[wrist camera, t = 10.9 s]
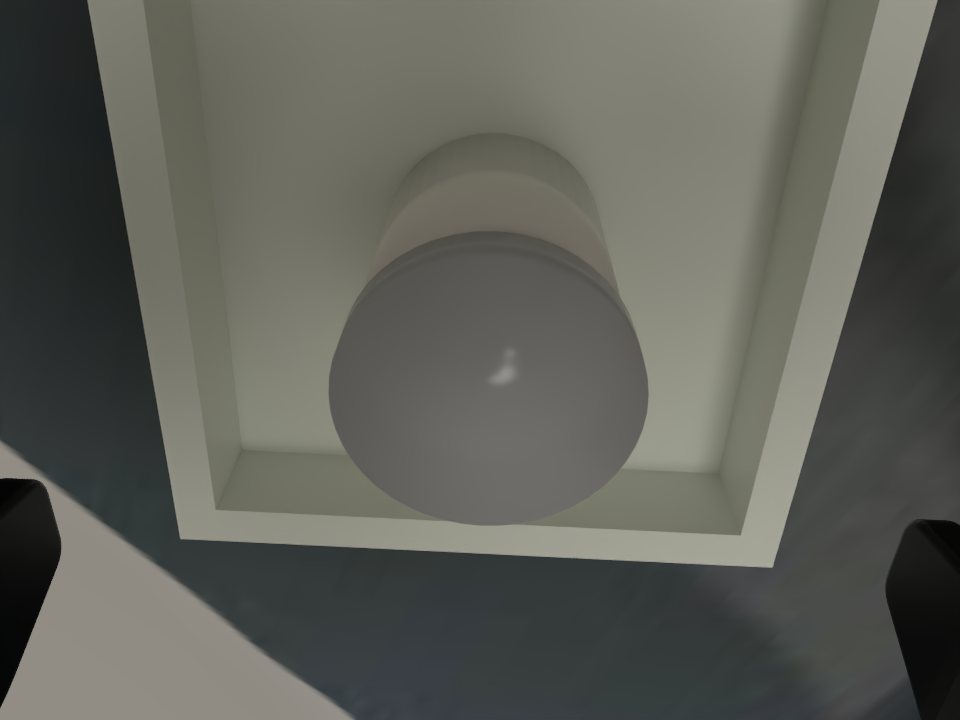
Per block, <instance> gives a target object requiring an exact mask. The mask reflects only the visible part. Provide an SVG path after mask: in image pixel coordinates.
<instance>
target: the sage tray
mask: <svg viewBox="0 0 960 720" xmlns="http://www.w3.org/2000/svg"><path fill="white" fill-rule="evenodd" d="M87 1H88V7H89V12H90V18H91V24H92V30H93V36H94V41H95V47H96V53H97V59H98V65H99V70H100V76H101V82H102V88H103V94H104V99H105V105H106V111H107V117H108V123H109V128H110V134H111V140H112V146H113V152H114V157H115V163H116V169H117V175H118V180H119V186H120V192H121V198H122V204H123V209H124V215H125V221H126V227H127V233H128V238H129V244H130V250H131V256H132V262H133V267H134V273H135V279H136V285H137V291H138V296H139V302H140V308H141V314H142V320H143V325H144V331H145V337H146V343H147V349H148V354H149V360H150V366H151V372H152V377H153V383H154V389H155V395H156V401H157V406H158V412H159V418H160V424H161V430H162V435H163V441H164V447H165V453H166V459H167V464H168V470H169V476H170V482H171V488H172V493H173V499H174V505H175V511H176V517H177V522H178V528H179V534H180V539H194V540H214V541H235V542H255V543H276V544H297V545H317V546H338V547H358V548H379V549H400V550H420V551H441V552H461V553H482V554H503V555H523V556H544V557H564V558H585V559H606V560H626V561H647V562H667V563H688V564H709V565H729V566H750V567H770V568H772V567H773V564H774V560H775V557H776V553H777V550H778V546H779V543H780V540H781V536H782V533H783V529H784V526H785V522H786V519H787V516H788V512H789V509H790V505H791V502H792V498H793V495H794V492H795V488H796V485H797V481H798V478H799V474H800V471H801V468H802V464H803V461H804V457H805V454H806V450H807V447H808V443H809V440H810V437H811V433H812V430H813V426H814V423H815V419H816V416H817V413H818V409H819V406H820V402H821V399H822V395H823V392H824V389H825V385H826V382H827V378H828V375H829V371H830V368H831V364H832V361H833V358H834V354H835V351H836V347H837V344H838V340H839V337H840V334H841V330H842V327H843V323H844V320H845V316H846V313H847V310H848V306H849V303H850V299H851V296H852V292H853V289H854V286H855V282H856V279H857V275H858V272H859V268H860V265H861V261H862V258H863V255H864V251H865V248H866V244H867V241H868V237H869V234H870V231H871V227H872V224H873V220H874V217H875V213H876V210H877V207H878V203H879V200H880V196H881V193H882V189H883V186H884V182H885V179H886V176H887V172H888V169H889V165H890V162H891V158H892V155H893V152H894V148H895V145H896V141H897V138H898V134H899V131H900V128H901V124H902V121H903V117H904V114H905V110H906V107H907V104H908V100H909V97H910V93H911V90H912V86H913V83H914V79H915V76H916V73H917V69H918V66H919V62H920V59H921V55H922V52H923V49H924V45H925V42H926V38H927V35H928V31H929V28H930V25H931V21H932V18H933V14H934V11H935V7H936V4H937V0H87ZM479 134H508V135H515V136H519V137H523V138H527V139H530V140H533V141H535V142H538V143H540V144H543V145H544V146H546V147H548V148H550V149H551V150H553V151H555V152H556V153H558V154H559V155H560V156H562V157H563V158H564V159H566V160H567V161H568V162H569V163H570V164H571V165H572V166H573V167H574V168H575V169H576V170H577V171H578V173H579V174H580V175H581V177H582V178H583V179H584V181H585V182H586V184H587V186H588V188H589V190H590V191H591V193H592V195H593V198H594V201H595V203H596V206H597V210H598V213H599V217H600V221H601V225H602V228H603V232H604V236H605V240H606V244H607V247H608V251H609V255H610V259H611V262H612V266H613V270H614V274H615V278H616V281H617V285H618V289H619V293H620V296H621V300H622V301H623V303H624V305H625V307H626V308H627V310H628V312H629V314H630V316H631V319H632V322H633V324H634V327H635V329H636V333H637V337H638V340H639V344H640V347H641V351H642V355H643V358H644V362H645V367H646V372H647V376H648V390H649V399H648V409H647V415H646V419H645V423H644V427H643V430H642V433H641V435H640V437H639V440H638V442H637V444H636V447H635V448H634V450H633V451H632V453H631V455H630V456H629V458H628V460H627V461H626V463H625V464H624V465H623V466H622V467H621V469H620V470H619V471H618V472H617V474H616V475H615V476H614V477H613V478H612V479H611V480H610V481H608V482H607V483H606V484H605V485H604V486H603V487H602V488H601V489H599V490H598V491H597V492H595V493H594V494H593V495H591V496H590V497H589V498H587V499H585V500H584V501H582V502H580V503H578V504H577V505H575V506H573V507H571V508H569V509H567V510H564V511H562V512H560V513H557V514H555V515H552V516H549V517H545V518H542V519H539V520H535V521H530V522H525V523H520V524H512V525H501V526H479V525H469V524H460V523H456V522H451V521H446V520H442V519H439V518H435V517H432V516H429V515H426V514H423V513H421V512H419V511H416V510H414V509H412V508H410V507H407V506H406V505H404V504H402V503H400V502H399V501H397V500H395V499H393V498H392V497H390V496H389V495H388V494H386V493H385V492H383V491H382V490H381V489H379V488H378V487H377V486H376V485H375V484H373V483H372V482H371V481H370V480H369V479H368V478H367V477H366V476H365V475H364V474H363V473H362V472H361V471H360V469H359V468H358V467H357V466H356V465H355V463H354V462H353V461H352V460H351V458H350V456H349V455H348V453H347V452H346V450H345V448H344V447H343V445H342V443H341V441H340V438H339V436H338V434H337V432H336V430H335V426H334V423H333V419H332V416H331V412H330V404H329V396H328V391H329V374H330V369H331V364H332V359H333V356H334V353H335V350H336V348H337V345H338V342H339V339H340V336H341V333H342V331H343V328H344V325H345V322H346V319H347V317H348V314H349V312H350V310H351V308H352V306H353V304H354V302H355V301H356V299H357V297H358V296H359V294H360V293H361V292H362V290H363V287H364V284H365V282H366V279H367V276H368V273H369V270H370V267H371V264H372V261H373V258H374V255H375V252H376V249H377V246H378V243H379V240H380V237H381V234H382V231H383V228H384V226H385V223H386V220H387V217H388V214H389V211H390V208H391V205H392V202H393V199H394V197H395V194H396V192H397V190H398V189H399V187H400V185H401V183H402V182H403V180H404V179H405V177H406V176H407V175H408V173H409V172H410V171H411V170H412V169H413V168H414V167H415V166H416V164H417V163H418V162H419V161H421V160H422V159H423V158H424V157H426V156H427V155H428V154H429V153H431V152H432V151H434V150H436V149H438V148H439V147H441V146H443V145H445V144H447V143H450V142H452V141H454V140H457V139H460V138H464V137H468V136H472V135H479Z"/></svg>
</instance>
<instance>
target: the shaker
mask: <svg viewBox="0 0 960 720" xmlns="http://www.w3.org/2000/svg"><path fill="white" fill-rule="evenodd" d="M328 396H329V404H330V412H331V416H332V419H333V423H334V426H335V430H336V432H337V434H338V436H339V438H340V441H341V443H342V445H343V447H344V448H345V450H346V452H347V453H348V455H349V456H350V458H351V460H352V461H353V462H354V463H355V465H356V466H357V467H358V468H359V469H360V471H361V472H362V473H363V474H364V475H365V476H366V477H367V478H368V479H369V480H370V481H371V482H372V483H373V484H375V485H376V486H377V487H378V488H379V489H381V490H382V491H383V492H385V493H386V494H388V495H389V496H390V497H392V498H393V499H395V500H397V501H399V502H400V503H402V504H404V505H406V506H407V507H410V508H412V509H414V510H416V511H419V512H421V513H423V514H426V515H429V516H432V517H435V518H439V519H442V520H446V521H451V522H456V523H460V524H469V525H479V526H501V525H512V524H520V523H525V522H530V521H535V520H539V519H542V518H545V517H549V516H552V515H555V514H557V513H560V512H562V511H564V510H567V509H569V508H571V507H573V506H575V505H577V504H578V503H580V502H582V501H584V500H585V499H587V498H589V497H590V496H591V495H593V494H594V493H595V492H597V491H598V490H599V489H601V488H602V487H603V486H604V485H605V484H606V483H607V482H608V481H610V480H611V479H612V478H613V477H614V476H615V475H616V474H617V472H618V471H619V470H620V469H621V467H622V466H623V465H624V464H625V463H626V461H627V460H628V458H629V456H630V455H631V453H632V451H633V450H634V448H635V447H636V444H637V442H638V440H639V437H640V435H641V433H642V430H643V427H644V423H645V419H646V415H647V409H648V399H649V390H648V376H647V372H646V367H645V362H644V358H643V355H642V351H641V347H640V344H639V340H638V337H637V333H636V329H635V327H634V324H633V322H632V319H631V316H630V314H629V312H628V310H627V308H626V307H625V305H624V303H623V301H622V300H621V296H620V293H619V289H618V285H617V281H616V278H615V274H614V270H613V266H612V262H611V259H610V255H609V251H608V247H607V244H606V240H605V236H604V232H603V228H602V225H601V221H600V217H599V213H598V210H597V206H596V203H595V201H594V198H593V195H592V193H591V191H590V190H589V188H588V186H587V184H586V182H585V181H584V179H583V178H582V177H581V175H580V174H579V173H578V171H577V170H576V169H575V168H574V167H573V166H572V165H571V164H570V163H569V162H568V161H567V160H566V159H564V158H563V157H562V156H560V155H559V154H558V153H556V152H555V151H553V150H551V149H550V148H548V147H546V146H544V145H543V144H540V143H538V142H535V141H533V140H530V139H527V138H523V137H519V136H515V135H508V134H479V135H472V136H468V137H464V138H460V139H457V140H454V141H452V142H450V143H447V144H445V145H443V146H441V147H439V148H438V149H436V150H434V151H432V152H431V153H429V154H428V155H427V156H426V157H424V158H423V159H422V160H421V161H419V162H418V163H417V164H416V166H415V167H414V168H413V169H412V170H411V171H410V172H409V173H408V175H407V176H406V177H405V179H404V180H403V182H402V183H401V185H400V187H399V189H398V190H397V192H396V194H395V197H394V199H393V202H392V205H391V208H390V211H389V214H388V217H387V220H386V223H385V226H384V228H383V231H382V234H381V237H380V240H379V243H378V246H377V249H376V252H375V255H374V258H373V261H372V264H371V267H370V270H369V273H368V276H367V279H366V282H365V284H364V287H363V290H362V292H361V293H360V294H359V296H358V297H357V299H356V301H355V302H354V304H353V306H352V308H351V310H350V312H349V314H348V317H347V319H346V322H345V325H344V328H343V331H342V333H341V336H340V339H339V342H338V345H337V348H336V350H335V353H334V356H333V359H332V364H331V369H330V374H329V391H328Z"/></svg>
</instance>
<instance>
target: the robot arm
mask: <svg viewBox="0 0 960 720" xmlns="http://www.w3.org/2000/svg"><path fill="white" fill-rule="evenodd" d="M60 555H61V538H60V534H59V531H58V527H57V523H56V520H55V516H54V513H53V509H52V505H51V502H50V498H49V495H48V492H47V489H46V487H45V486H44V485H43V483H41V482H40V481H37V480H34V479H13V478H3V479H0V707H1V705H2V703H3V701H4V699H5V697H6V695H7V693H8V690H9V688H10V686H11V683H12V681H13V679H14V676H15V674H16V671H17V669H18V666H19V664H20V661H21V658H22V656H23V653H24V650H25V648H26V646H27V643H28V640H29V638H30V635H31V632H32V630H33V628H34V625H35V623H36V620H37V617H38V615H39V612H40V610H41V607H42V605H43V602H44V599H45V597H46V594H47V591H48V589H49V586H50V584H51V581H52V579H53V576H54V574H55V571H56V569H57V566H58V562H59V559H60ZM885 591H886V599H887V603H888V606H889V610H890V613H891V617H892V620H893V624H894V627H895V631H896V634H897V638H898V641H899V644H900V648H901V651H902V655H903V658H904V662H905V665H906V669H907V672H908V676H909V679H910V682H911V686H912V689H913V693H914V696H915V700H916V703H917V707H918V710H919V714H920V717H921V720H960V525H959V524H957V523H955V522H952V521H947V520H925V519H917V520H914V521H911V522H910V523H909V524H908V525H907V526H906V528H905V530H904V532H903V534H902V537H901V540H900V542H899V545H898V548H897V550H896V553H895V556H894V558H893V561H892V564H891V566H890V569H889V571H888V574H887V578H886V585H885Z"/></svg>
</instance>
